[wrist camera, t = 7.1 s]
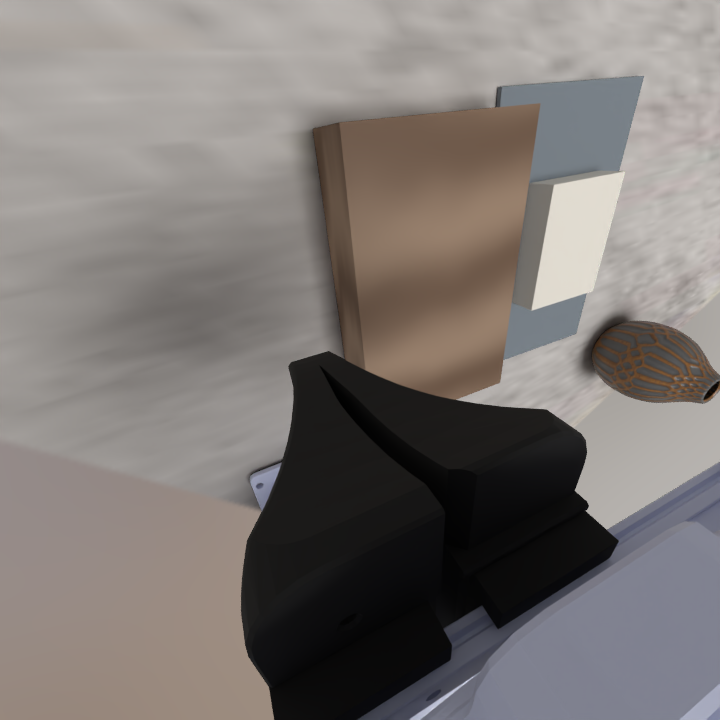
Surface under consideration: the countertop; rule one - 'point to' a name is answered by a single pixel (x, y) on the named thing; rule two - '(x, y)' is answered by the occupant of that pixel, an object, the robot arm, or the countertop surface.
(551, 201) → the tile
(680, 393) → the vase
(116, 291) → the countertop surface
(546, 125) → the mat
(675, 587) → the robot arm
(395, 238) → the block
